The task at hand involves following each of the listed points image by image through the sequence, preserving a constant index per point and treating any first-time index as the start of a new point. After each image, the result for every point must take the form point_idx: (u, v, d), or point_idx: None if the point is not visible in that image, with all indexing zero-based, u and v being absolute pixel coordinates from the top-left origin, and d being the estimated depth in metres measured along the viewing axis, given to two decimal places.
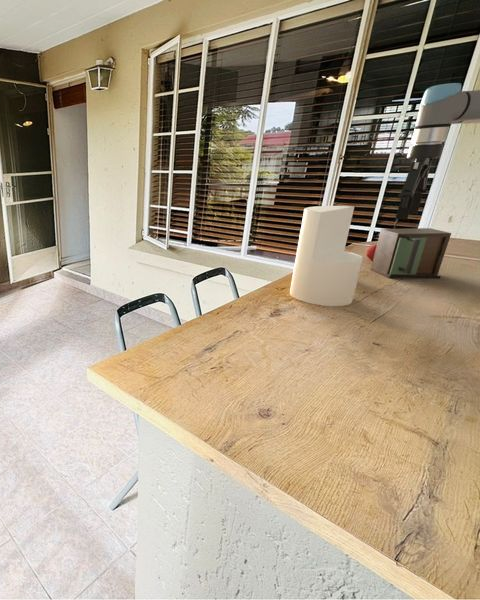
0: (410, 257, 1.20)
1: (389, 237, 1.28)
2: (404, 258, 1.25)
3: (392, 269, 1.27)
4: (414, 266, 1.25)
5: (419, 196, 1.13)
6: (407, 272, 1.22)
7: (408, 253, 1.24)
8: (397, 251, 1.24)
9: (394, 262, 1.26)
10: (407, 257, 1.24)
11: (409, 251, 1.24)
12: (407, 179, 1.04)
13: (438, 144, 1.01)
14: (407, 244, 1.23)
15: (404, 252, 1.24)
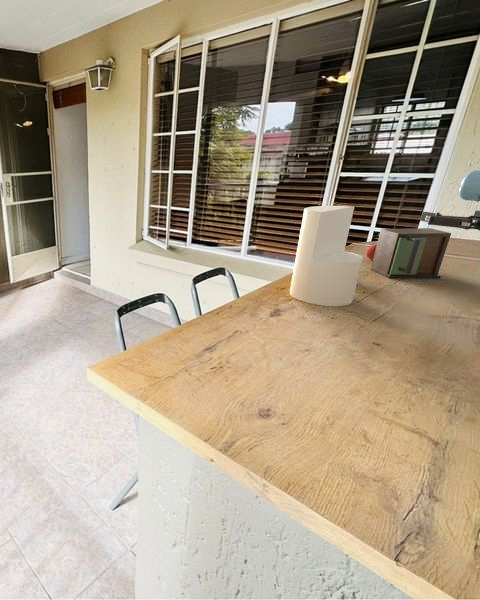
0: (410, 257, 1.20)
1: (389, 237, 1.28)
2: (404, 258, 1.25)
3: (392, 269, 1.27)
4: (414, 266, 1.25)
5: None
6: (407, 272, 1.22)
7: (408, 253, 1.24)
8: (397, 251, 1.24)
9: (394, 262, 1.26)
10: (407, 257, 1.24)
11: (409, 251, 1.24)
12: None
13: None
14: (407, 244, 1.23)
15: (404, 252, 1.24)
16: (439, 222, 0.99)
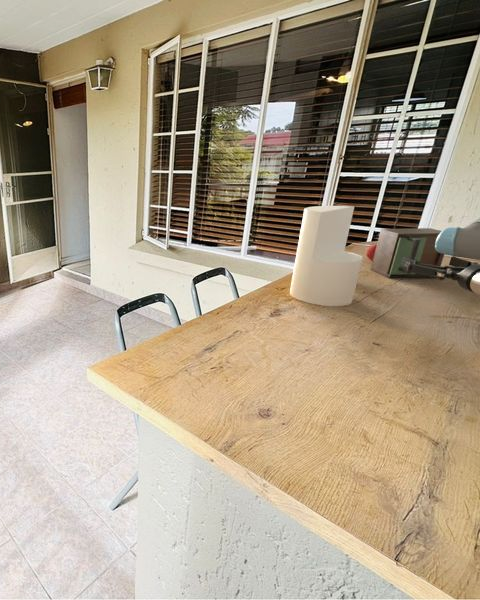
0: (410, 257, 1.20)
1: (389, 237, 1.28)
2: None
3: (392, 269, 1.27)
4: None
5: None
6: (407, 272, 1.22)
7: (408, 253, 1.24)
8: (397, 251, 1.24)
9: (394, 262, 1.26)
10: (407, 257, 1.24)
11: (409, 251, 1.24)
12: None
13: None
14: (407, 244, 1.23)
15: (404, 252, 1.24)
16: (417, 270, 1.06)
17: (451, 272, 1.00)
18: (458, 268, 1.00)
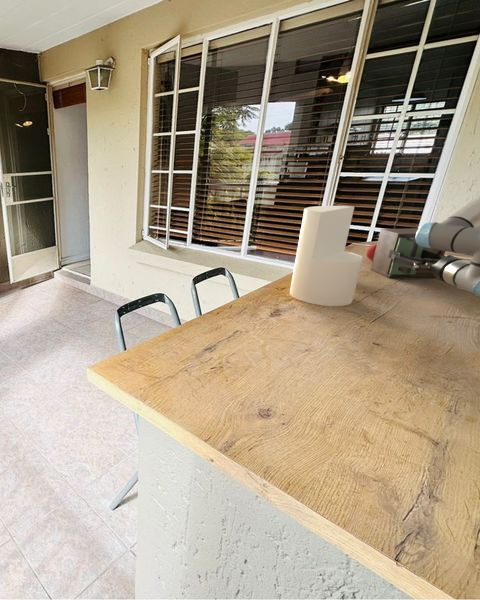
0: None
1: (389, 237, 1.28)
2: None
3: (392, 269, 1.27)
4: None
5: None
6: (407, 272, 1.22)
7: (408, 253, 1.24)
8: (397, 251, 1.24)
9: None
10: None
11: (409, 251, 1.24)
12: None
13: None
14: (407, 244, 1.23)
15: (404, 253, 1.24)
16: (399, 262, 1.16)
17: (427, 264, 1.09)
18: (433, 260, 1.09)
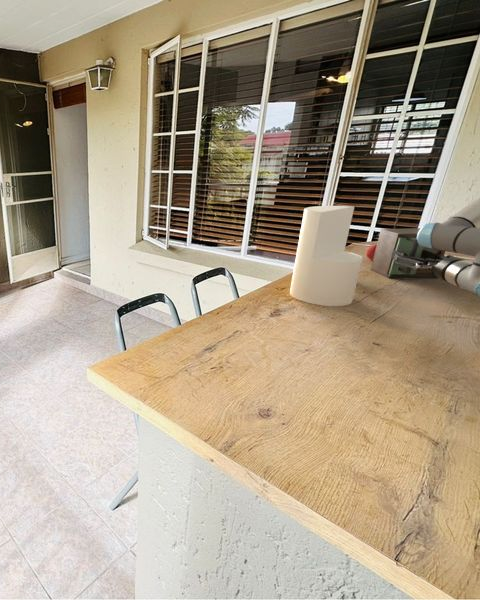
0: None
1: (389, 237, 1.28)
2: None
3: (391, 269, 1.27)
4: None
5: None
6: (406, 272, 1.22)
7: (407, 253, 1.24)
8: None
9: (393, 262, 1.26)
10: None
11: (408, 251, 1.24)
12: None
13: None
14: (406, 244, 1.23)
15: None
16: (402, 262, 1.16)
17: (429, 264, 1.09)
18: (435, 261, 1.09)
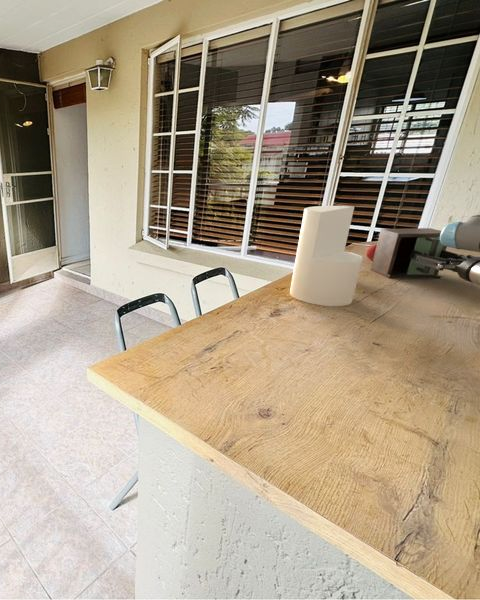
0: None
1: (389, 237, 1.28)
2: None
3: (410, 269, 1.26)
4: None
5: None
6: (425, 272, 1.21)
7: (426, 253, 1.23)
8: None
9: (412, 262, 1.25)
10: None
11: (427, 251, 1.23)
12: None
13: None
14: (425, 244, 1.22)
15: (422, 252, 1.23)
16: (423, 262, 1.15)
17: (452, 264, 1.08)
18: (458, 260, 1.08)
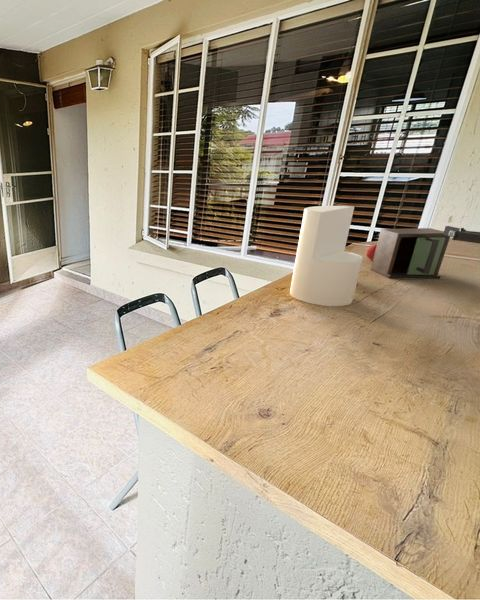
0: (429, 257, 1.19)
1: (389, 237, 1.28)
2: (422, 258, 1.24)
3: (410, 269, 1.26)
4: (432, 266, 1.24)
5: None
6: (425, 272, 1.21)
7: (426, 253, 1.23)
8: (415, 251, 1.23)
9: (412, 262, 1.25)
10: (425, 257, 1.23)
11: (427, 251, 1.23)
12: None
13: None
14: (425, 244, 1.22)
15: (422, 252, 1.23)
16: (464, 238, 0.99)
17: None
18: None
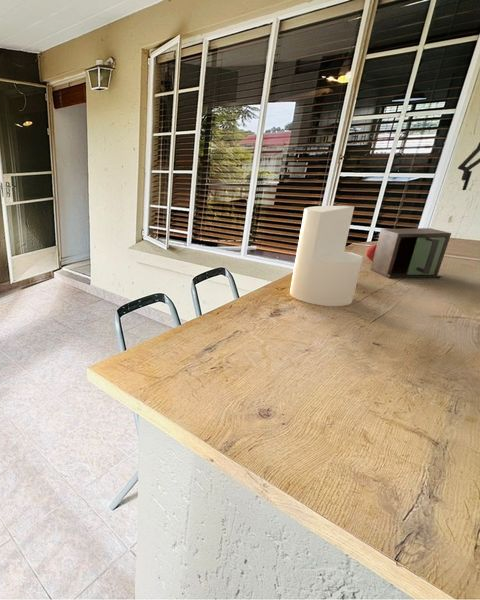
0: (429, 257, 1.19)
1: (389, 237, 1.28)
2: (422, 258, 1.24)
3: (410, 269, 1.26)
4: (432, 266, 1.24)
5: None
6: (425, 272, 1.21)
7: (426, 253, 1.23)
8: (415, 251, 1.23)
9: (412, 262, 1.25)
10: (425, 257, 1.23)
11: (427, 251, 1.23)
12: (469, 156, 1.26)
13: None
14: (425, 244, 1.22)
15: (422, 252, 1.23)
16: None
17: None
18: None
